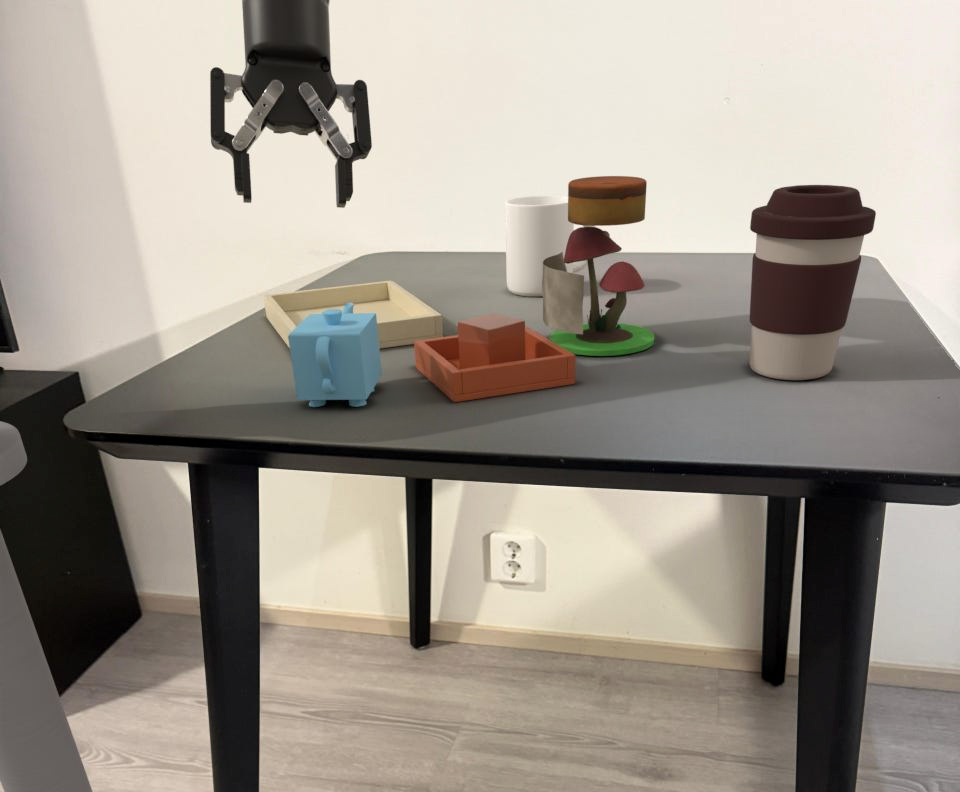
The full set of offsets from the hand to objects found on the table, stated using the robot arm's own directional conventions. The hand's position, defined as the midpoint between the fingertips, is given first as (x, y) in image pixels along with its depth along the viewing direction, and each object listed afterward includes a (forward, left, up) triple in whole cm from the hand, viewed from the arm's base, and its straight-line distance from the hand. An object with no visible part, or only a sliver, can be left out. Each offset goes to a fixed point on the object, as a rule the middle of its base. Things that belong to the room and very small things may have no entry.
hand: (294, 203), depth 85 cm
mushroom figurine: (+28, -7, -15) cm, 33 cm away
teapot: (0, -12, -15) cm, 19 cm away
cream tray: (+6, +11, -15) cm, 19 cm away
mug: (+34, +18, -15) cm, 41 cm away
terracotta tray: (+14, -13, -15) cm, 24 cm away
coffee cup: (+39, -24, -15) cm, 48 cm away
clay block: (+14, -13, -14) cm, 24 cm away
